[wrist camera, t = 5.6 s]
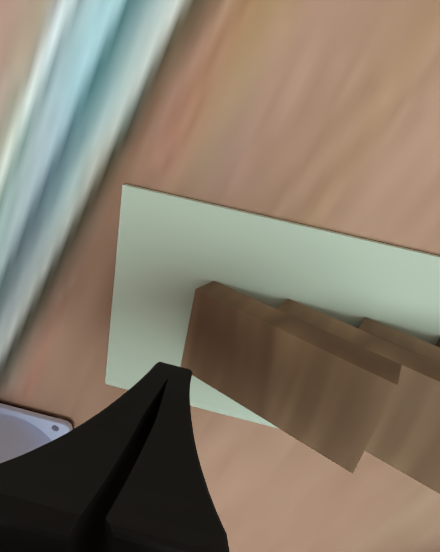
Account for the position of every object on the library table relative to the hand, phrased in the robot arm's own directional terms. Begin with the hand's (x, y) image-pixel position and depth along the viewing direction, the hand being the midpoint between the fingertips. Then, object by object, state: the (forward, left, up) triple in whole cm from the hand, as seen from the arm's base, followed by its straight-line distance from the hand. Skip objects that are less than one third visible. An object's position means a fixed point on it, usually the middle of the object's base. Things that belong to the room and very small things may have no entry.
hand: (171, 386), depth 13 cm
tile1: (0, 0, -5) cm, 5 cm away
